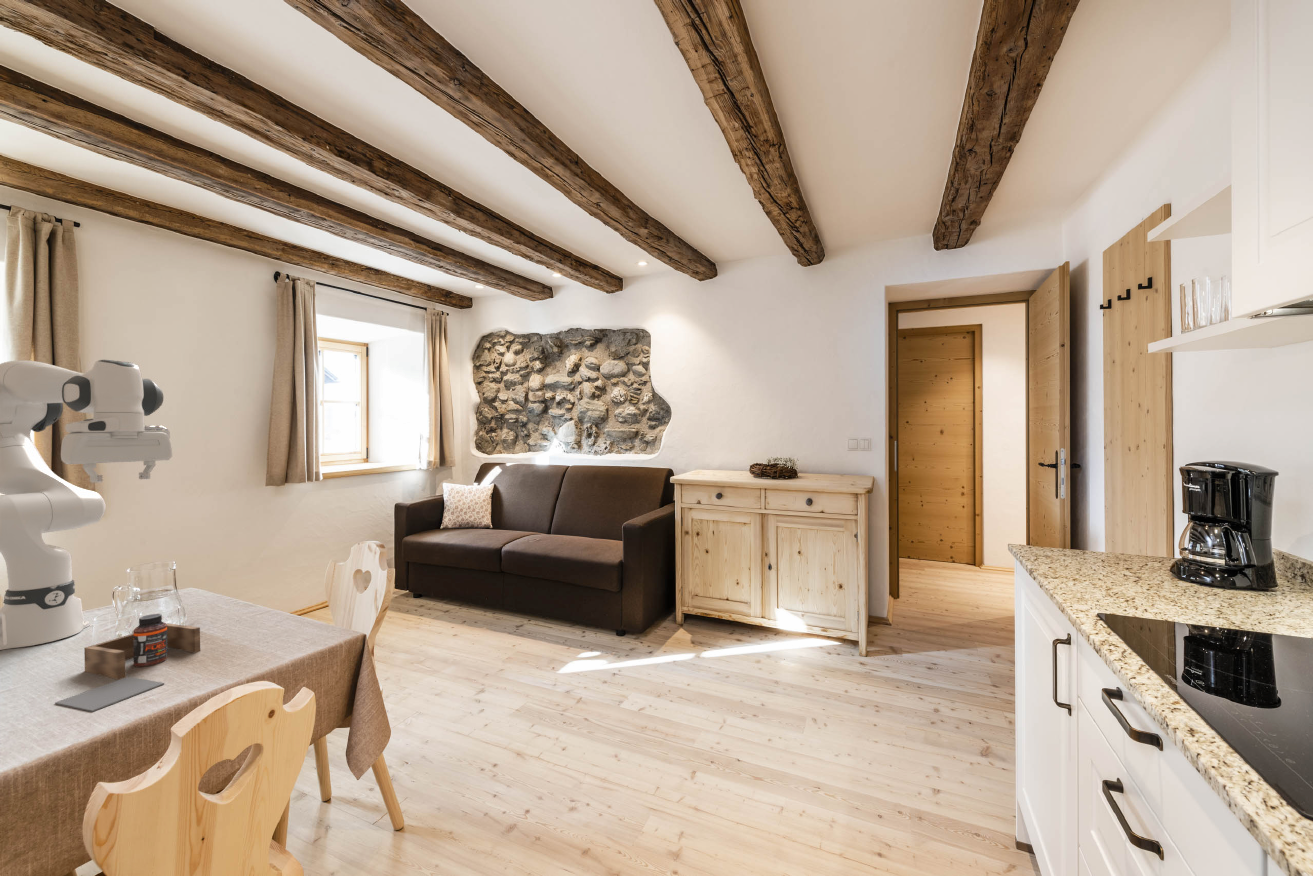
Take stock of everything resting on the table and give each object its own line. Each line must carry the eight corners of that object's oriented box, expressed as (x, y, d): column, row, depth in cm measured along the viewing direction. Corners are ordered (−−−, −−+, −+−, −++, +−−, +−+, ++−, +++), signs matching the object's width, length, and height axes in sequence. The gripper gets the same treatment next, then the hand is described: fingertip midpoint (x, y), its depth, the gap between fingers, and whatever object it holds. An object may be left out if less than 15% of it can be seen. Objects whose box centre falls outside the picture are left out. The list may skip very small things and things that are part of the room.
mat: (55, 704, 108) (55, 702, 108) (128, 677, 119) (128, 676, 119) (92, 712, 104) (92, 710, 104) (164, 684, 116) (164, 683, 116)
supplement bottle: (146, 669, 124) (145, 621, 124) (126, 667, 125) (125, 619, 125) (174, 658, 130) (173, 612, 130) (155, 656, 131) (154, 611, 131)
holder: (84, 673, 122) (84, 647, 122) (168, 646, 137) (167, 623, 137) (118, 679, 118) (118, 653, 118) (200, 650, 134) (199, 627, 134)
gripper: (161, 426, 141) (162, 477, 141) (55, 425, 121) (57, 484, 121) (177, 425, 139) (178, 477, 139) (72, 424, 119) (74, 484, 119)
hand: (121, 480), depth 130 cm, fingers open, 8 cm apart
